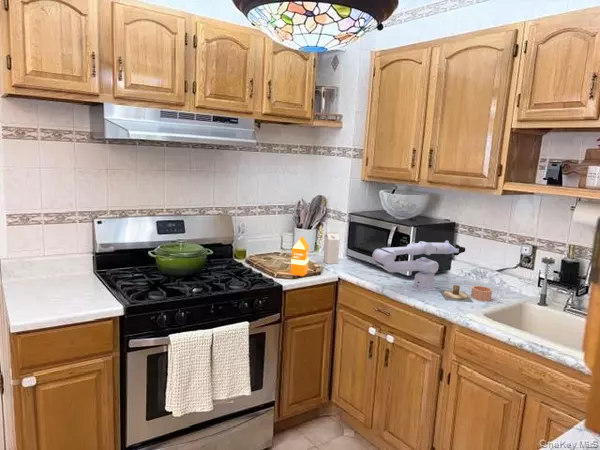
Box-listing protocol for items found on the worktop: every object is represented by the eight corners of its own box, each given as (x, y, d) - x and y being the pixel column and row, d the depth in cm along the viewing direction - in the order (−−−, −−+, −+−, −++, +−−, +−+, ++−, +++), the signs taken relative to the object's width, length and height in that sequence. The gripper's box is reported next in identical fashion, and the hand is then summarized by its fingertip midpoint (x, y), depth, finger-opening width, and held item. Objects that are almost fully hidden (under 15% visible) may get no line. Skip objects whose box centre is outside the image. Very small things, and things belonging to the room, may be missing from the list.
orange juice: (290, 274, 242) (292, 238, 239) (294, 270, 251) (296, 235, 247) (304, 276, 240) (306, 239, 237) (307, 271, 249) (309, 236, 246)
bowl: (482, 302, 212) (483, 292, 211) (467, 296, 220) (468, 287, 219) (494, 300, 217) (496, 290, 216) (479, 294, 224) (480, 285, 223)
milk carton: (323, 261, 275) (325, 230, 272) (334, 260, 277) (336, 230, 273) (326, 264, 268) (328, 233, 265) (337, 263, 270) (340, 233, 267)
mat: (445, 300, 212) (445, 300, 212) (438, 290, 228) (438, 289, 228) (473, 303, 211) (473, 302, 211) (464, 292, 227) (464, 291, 226)
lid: (456, 300, 212) (457, 290, 211) (438, 293, 221) (439, 284, 220) (472, 297, 217) (473, 288, 216) (454, 291, 227) (455, 281, 226)
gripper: (450, 242, 221) (470, 243, 227) (430, 238, 235) (450, 238, 240) (448, 256, 222) (469, 256, 228) (428, 251, 235) (448, 251, 241)
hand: (459, 248), depth 234 cm, fingers open, 7 cm apart
